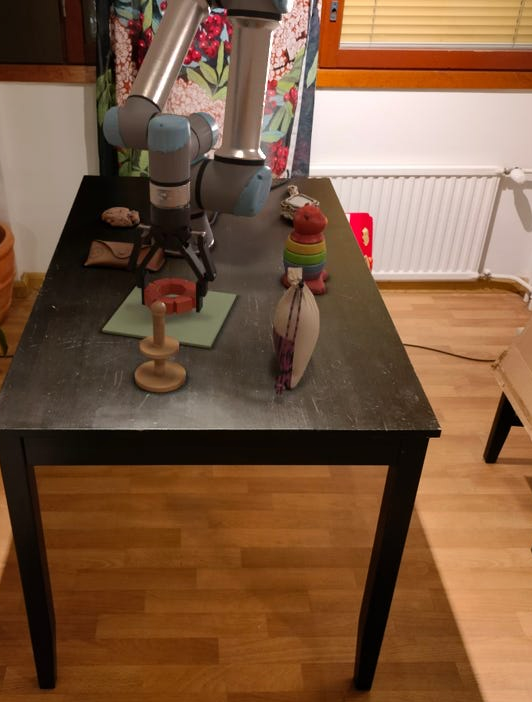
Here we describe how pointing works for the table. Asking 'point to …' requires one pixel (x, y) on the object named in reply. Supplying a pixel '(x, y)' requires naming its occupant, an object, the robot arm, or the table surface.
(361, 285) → the table surface
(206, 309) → the mat
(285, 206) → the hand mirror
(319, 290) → the stacking bear
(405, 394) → the table surface
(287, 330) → the pouch
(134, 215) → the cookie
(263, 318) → the table surface
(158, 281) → the ring
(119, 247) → the sunglasses case
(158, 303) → the ring post
